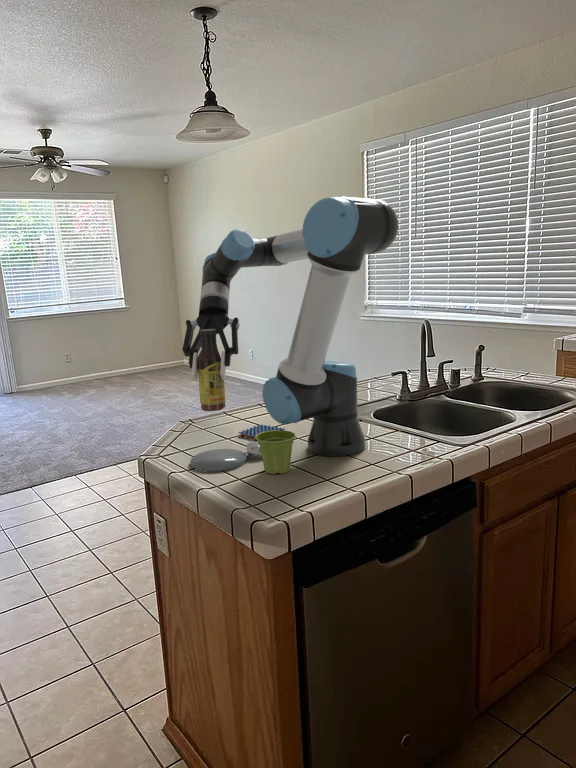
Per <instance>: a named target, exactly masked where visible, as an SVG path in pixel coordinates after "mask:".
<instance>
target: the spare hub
mask: <svg viewBox="0 0 576 768" xmlns="http://www.w3.org/2000/svg"><path fill="white" fill-rule="evenodd" d="M245 448H246V458H248V459H251V460H263V459H262V454H261V450H260V446H259V444H258V441H257V440H255V441H252V442H249V443H247V444H246V445H245Z"/></svg>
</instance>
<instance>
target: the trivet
mask: <svg viewBox="0 0 576 768" xmlns="http://www.w3.org/2000/svg"><path fill="white" fill-rule="evenodd" d="M246 462H247V453H245V452H244V451H242V450H240V449H233V448H217V449H210V450H206V451H202V452H199V453H197V454H195V455H194V456H192V457H191V459H190V467H191V466H192V467H193V468H195V469H197V470H201V471H200V472H202V471H206V472H205V473H220V471H222V472H227V471H232V470H235V469H237V468H240V467H241V466H242V467H243V465H245V464H246ZM192 467H191V468H192ZM193 468H192V469H193ZM195 469H194V470H195ZM197 470H196V471H197Z"/></svg>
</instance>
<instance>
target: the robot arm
mask: <svg viewBox="0 0 576 768" xmlns="http://www.w3.org/2000/svg"><path fill="white" fill-rule="evenodd" d="M398 232H399V220H398V216H397V214H396V211H395V210H394V209H393V207H392V206H391V205H389V203H387V202H385V201H384V200H381V199H378V198H371V197H370V198H367V197H366V198H365V197H364V198H363V197H351V196H344V195H337V196H329V197H325V198H321V199H319V200H318V201H317V202H315V203H314V204H312V206H311V207H310V208H309V209H308V211H307V212H306V214H305V217H304V220H303V223H302V228H301V229H298V230H294V231H293V230H292V231H290V232H285V233H282V234H278V235H273V236H269V237H253V236H251V234H249V232H247V231H244V230H242V229H238V228H237V229H236V228H235V229H232V230H231V231H229V233H228V234H227V235H226V237H224V239H223V240H222V241H221V243H220V244H219V247H218V248H217V250H216V252H213V253H211V254H209V255H207V256H206V258H205V259H204V262H203V265H202V278H201V287H200V298H199V299H200V300H199V308H198V316H197V318H196V319H195V320H192V321H191V320H190V319H186V321H185V326H186V331H185V335H184V339H183V340H184V341H183V343H182V344H183V345H182V352H183V355H184V356H185V358H187V357H189V358H188V365H189V368H190V369H191V373H190V374H191V377H192V381H194V382H196V381H198V356H199V353H200V351H201V349H202V348H201V336H200V330H204V329H216V333H217V335H218V336H219V338H220V341H221V344H222V348H223V350H222V351H221V355H220V357H221V368H220V375H221V378H222V380H224V381H225V380H226V373H227V372H226V370H227V369H226V368H227V367H230V366H231V358H232V356H233V355H237V354H239V338H238V334H239V333H238V330H239V327H240V322H239V318H238V317H234V318H229V317H230V316H229V307H230V306H229V304H230V291H231V289H230V287H231V282H232V279H233V278H234V277H235V276H236V275H237V274H238V272H239V271H240V269H242V268H253V267H254V268H255V267H257V268H259V267H279V266H285V265H287V264H289V263H293V262H297V261H303V260H309V262H310V264H311V267H310V270H309V274H308V275H309V276H308V278H307V279H308V280H307V283H306V286H305V290H304V294H303V298H302V302H301V306H300V310H299V312H298V316H297V319H296V320H297V321H296V325H295V328H294V331H293V336H292V340H291V343H290V347H289V351H288V355H287V358H284V359H283V360H281V361H280V362H279V364H278V367H277V372H276V375H275V377H270V378H269V379H267V380H266V381H265V382H264V384H263V387H262V392H261V393H262V394H261V395H262V401H263V404H264V406H265V409H266V411H267V413H268V414H269V416H270V417H271V418H272V419H273V420H274V421H275V422H277V423H279V424H281V425H290V424H297V423H299V422H302V421H305V420H308V419H312V422H311V423H312V424H311V428H310V431H309V434H308V438H307V447H308V448H307V449H308V451H309V452H311V453H312V454H315V455H318V456H323V457H344V456H351V455H354V454H358V453H360V452H362V451H364V450H365V449H366V437H365V435H364V432H363V429H362V426H361V423H360V421H359V417H358V377H357V369H356V367H355V365H354V364H353V363H351V362H345V361H337V360H326V357H327V355H328V351H329V347H330V346H331V345H330V344H331V341H332V337H333V335H334V332H335V327H336V324H337V321H338V318H339V314H340V311H341V308H342V305H343V301H344V299H345V295H346V291H347V288H348V285H349V281H350V277H351V276H352V275H353V274H355V273H358V272H359V271H360V269H361V266H362V264H363V260H364V257H365V255H374V254H378V253H381V252H384V251H385V250H387V249H388V248H390V247H391V246H392V244H393V243H394V242H395V240H396V237H397V235H398ZM228 325H229V327H230V328H231V330H230V331H231V346H230V345H229V343H228V340H227V338H226V335H225V331H224V329H226V327H228ZM197 326H198V328H199V329H198V332H197V335H196V337H195V339H194V341H193V338H194V331H195V330H196V327H197Z"/></svg>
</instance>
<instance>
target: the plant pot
mask: <svg viewBox="0 0 576 768" xmlns="http://www.w3.org/2000/svg"><path fill="white" fill-rule="evenodd" d="M295 438H296V433H295V432H293V431H291V430H290V431H289V430H285V429H284V430H273V431H266V432H262V433H259V434H258V435H256V440H255V441H258V444H259V446H260V450H261V454H262V459H261V460H262V464H263V468H264V471H265V473H267V474H270V475H276V474H285V473H287V472H289V471H290V470H291V461H292V451H293V444H294V441H295V440H294V439H295Z"/></svg>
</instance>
